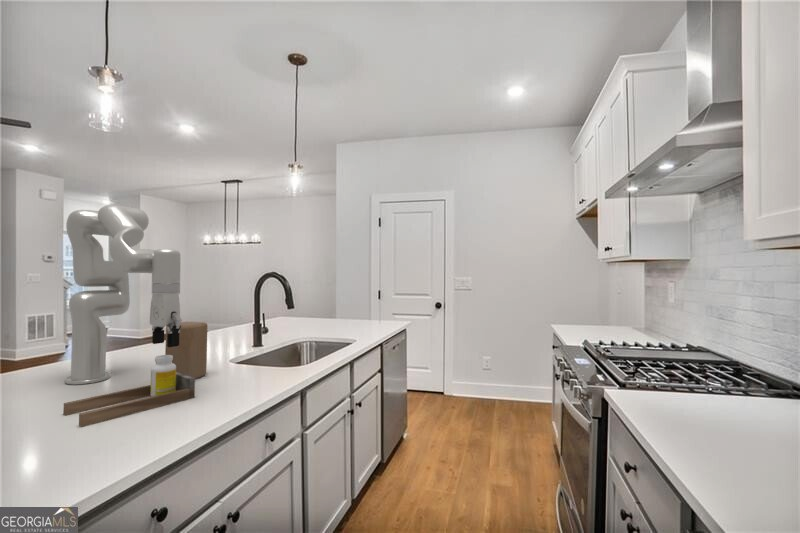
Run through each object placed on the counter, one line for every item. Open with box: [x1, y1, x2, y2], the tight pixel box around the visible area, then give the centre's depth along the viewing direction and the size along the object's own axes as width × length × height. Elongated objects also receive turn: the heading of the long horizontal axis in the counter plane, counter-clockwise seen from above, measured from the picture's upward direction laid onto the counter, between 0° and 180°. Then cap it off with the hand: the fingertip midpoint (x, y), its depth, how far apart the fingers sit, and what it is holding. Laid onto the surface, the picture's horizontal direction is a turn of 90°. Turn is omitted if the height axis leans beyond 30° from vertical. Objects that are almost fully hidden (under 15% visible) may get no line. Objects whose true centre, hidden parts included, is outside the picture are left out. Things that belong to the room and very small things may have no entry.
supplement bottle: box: [149, 354, 176, 397], centre depth 117 cm, size 7×7×13 cm
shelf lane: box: [62, 372, 196, 428], centre depth 110 cm, size 14×28×6 cm, turn 145°
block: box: [164, 321, 208, 380], centre depth 139 cm, size 10×10×20 cm
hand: (165, 344), depth 117 cm, fingers open, 9 cm apart
